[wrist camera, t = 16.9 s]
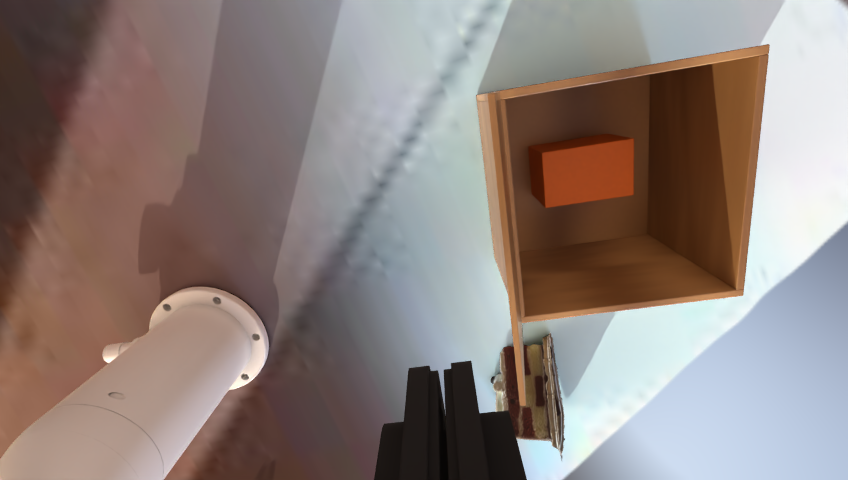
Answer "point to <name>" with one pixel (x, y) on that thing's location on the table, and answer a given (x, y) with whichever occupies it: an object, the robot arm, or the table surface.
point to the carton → (635, 185)
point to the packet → (582, 169)
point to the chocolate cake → (532, 394)
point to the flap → (507, 235)
